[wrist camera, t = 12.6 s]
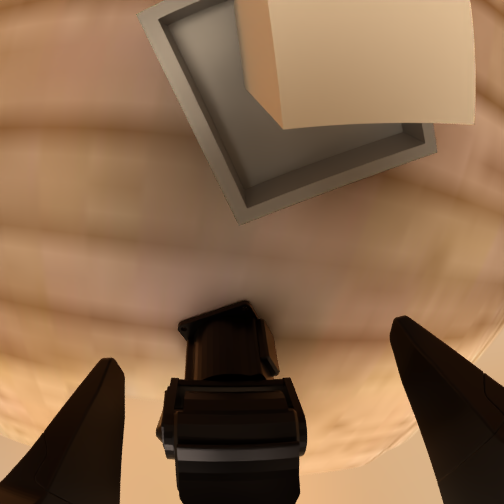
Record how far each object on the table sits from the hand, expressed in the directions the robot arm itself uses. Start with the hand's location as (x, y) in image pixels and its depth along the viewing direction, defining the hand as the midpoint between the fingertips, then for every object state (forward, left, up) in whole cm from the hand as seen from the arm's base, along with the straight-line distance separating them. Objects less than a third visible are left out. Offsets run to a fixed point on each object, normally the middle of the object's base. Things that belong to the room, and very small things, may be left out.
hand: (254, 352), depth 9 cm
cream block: (+6, +7, -12) cm, 15 cm away
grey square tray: (+6, +5, -13) cm, 15 cm away
